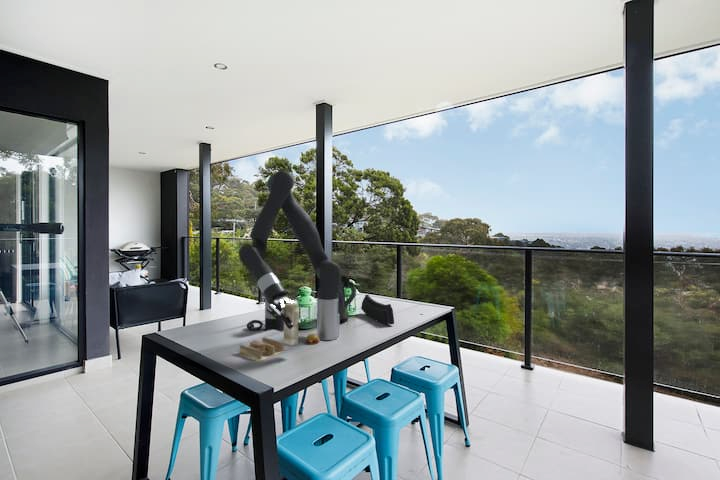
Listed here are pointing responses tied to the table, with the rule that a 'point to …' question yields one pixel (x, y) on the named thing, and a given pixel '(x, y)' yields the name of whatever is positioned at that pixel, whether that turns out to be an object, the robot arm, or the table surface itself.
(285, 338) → the tall birch block
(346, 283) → the beer stein
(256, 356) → the pine rack
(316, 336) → the hamburger
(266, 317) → the milk frother
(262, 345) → the offcut stack
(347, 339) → the table surface
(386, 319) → the magazine
